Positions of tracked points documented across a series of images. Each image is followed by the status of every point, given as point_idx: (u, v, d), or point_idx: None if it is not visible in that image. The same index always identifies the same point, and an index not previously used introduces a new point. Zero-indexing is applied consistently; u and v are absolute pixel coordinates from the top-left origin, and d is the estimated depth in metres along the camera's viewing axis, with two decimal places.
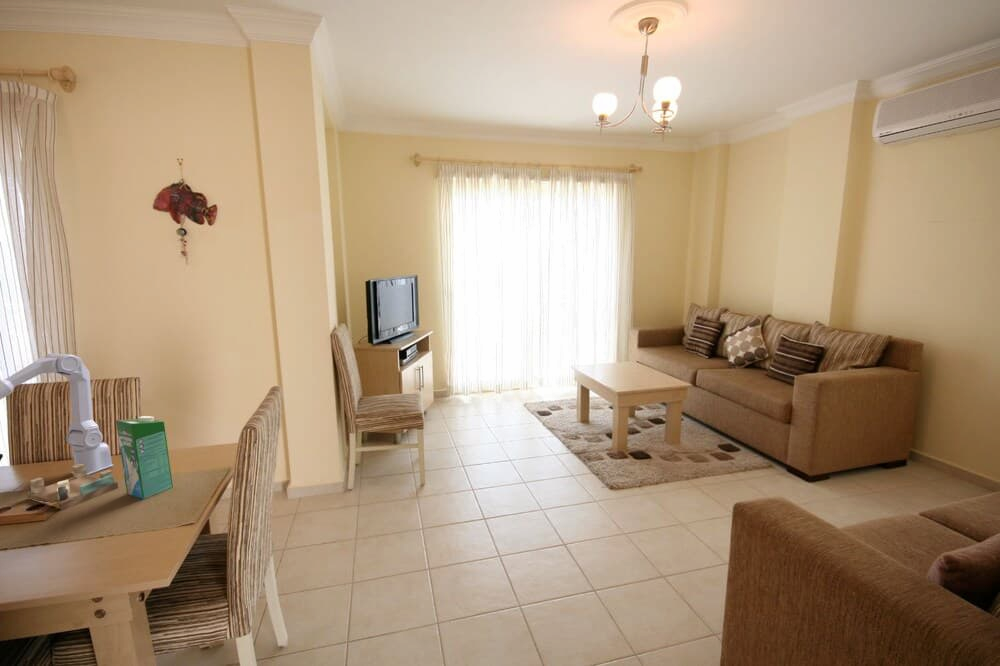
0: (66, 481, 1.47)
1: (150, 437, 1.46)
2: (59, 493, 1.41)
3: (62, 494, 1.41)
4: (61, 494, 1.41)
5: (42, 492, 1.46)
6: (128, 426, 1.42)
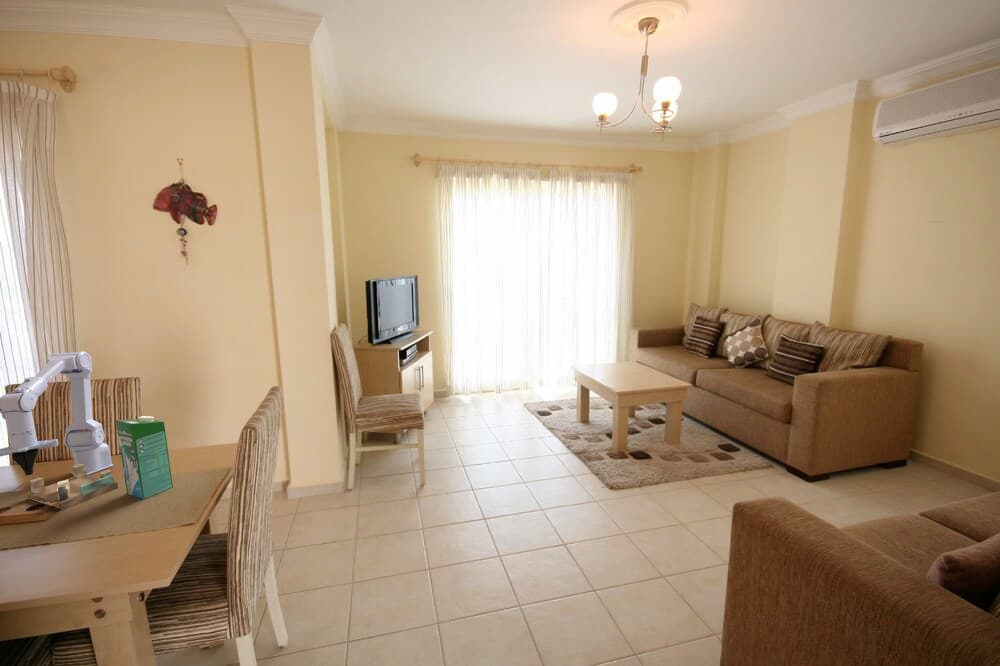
0: (66, 481, 1.47)
1: (150, 437, 1.46)
2: (59, 493, 1.41)
3: (62, 494, 1.41)
4: (61, 494, 1.41)
5: (42, 492, 1.46)
6: (128, 426, 1.42)
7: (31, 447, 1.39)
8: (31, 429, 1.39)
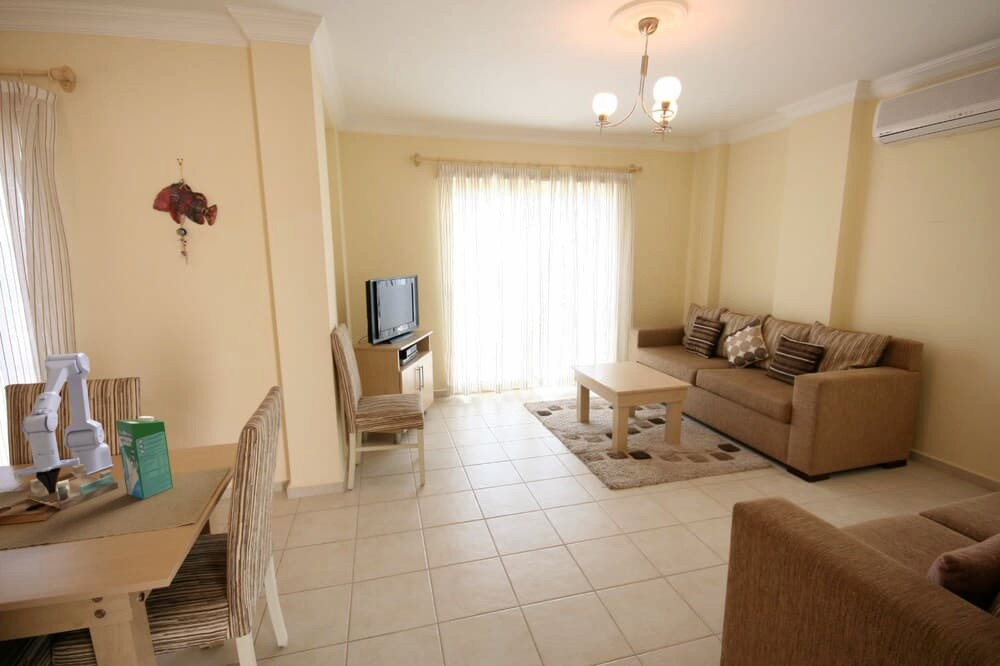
0: (66, 481, 1.47)
1: (150, 437, 1.46)
2: (59, 493, 1.41)
3: (62, 494, 1.41)
4: (61, 494, 1.41)
5: (42, 492, 1.46)
6: (128, 426, 1.42)
7: (54, 466, 1.43)
8: (55, 448, 1.43)
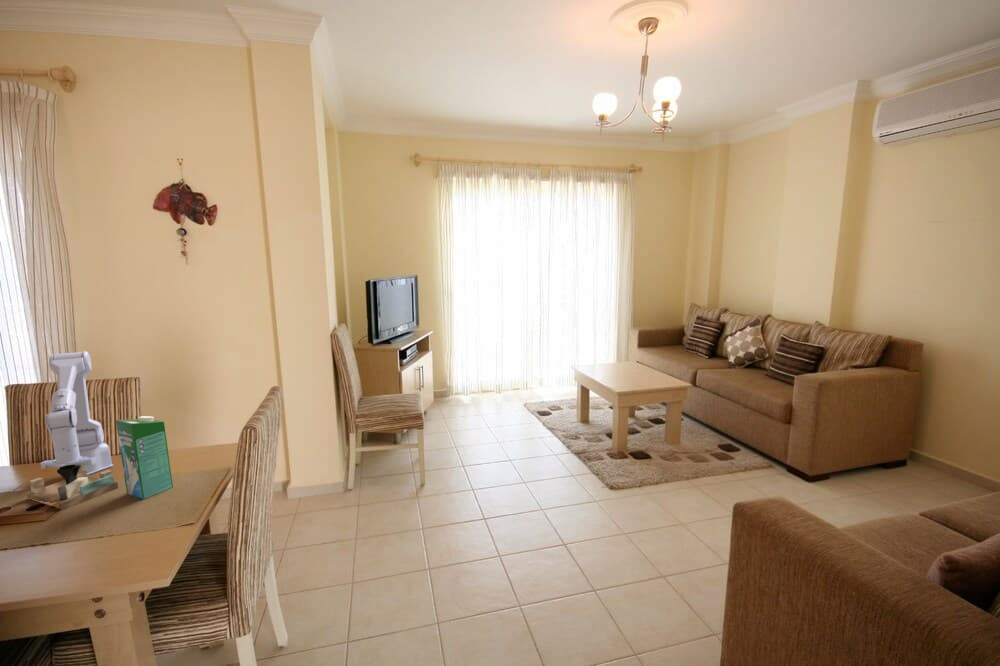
0: (82, 479, 1.49)
1: (150, 437, 1.46)
2: (58, 493, 1.41)
3: (60, 494, 1.41)
4: (59, 494, 1.41)
5: (42, 492, 1.46)
6: (128, 426, 1.42)
7: (68, 463, 1.44)
8: (77, 443, 1.47)
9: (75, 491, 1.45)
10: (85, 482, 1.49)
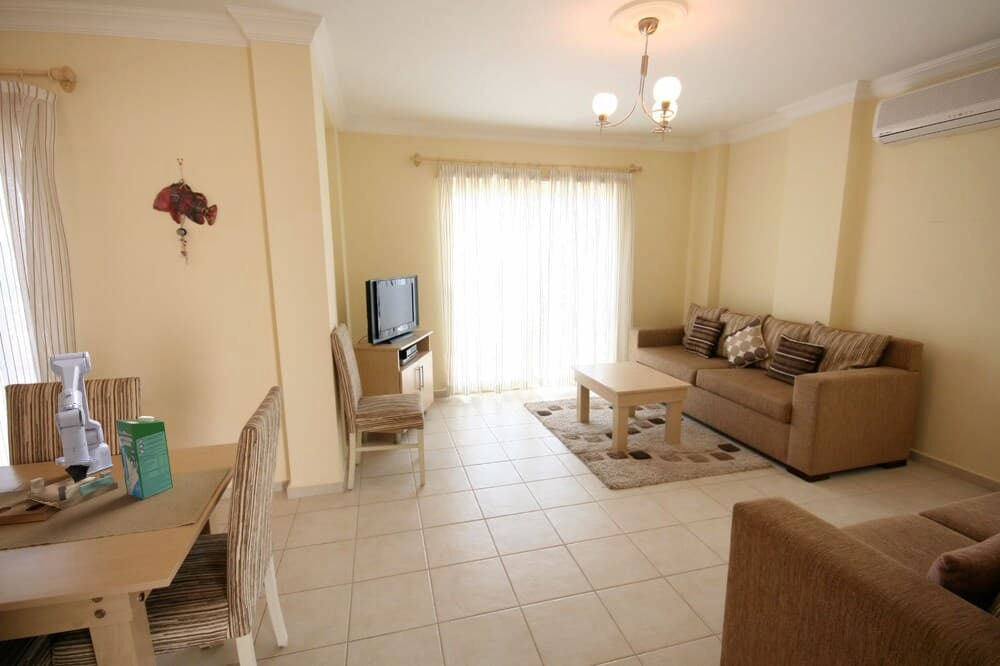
0: (89, 479, 1.49)
1: (150, 437, 1.46)
2: None
3: (59, 494, 1.41)
4: (59, 494, 1.41)
5: (42, 492, 1.46)
6: (128, 426, 1.42)
7: (73, 463, 1.44)
8: (86, 442, 1.48)
9: (77, 492, 1.45)
10: None
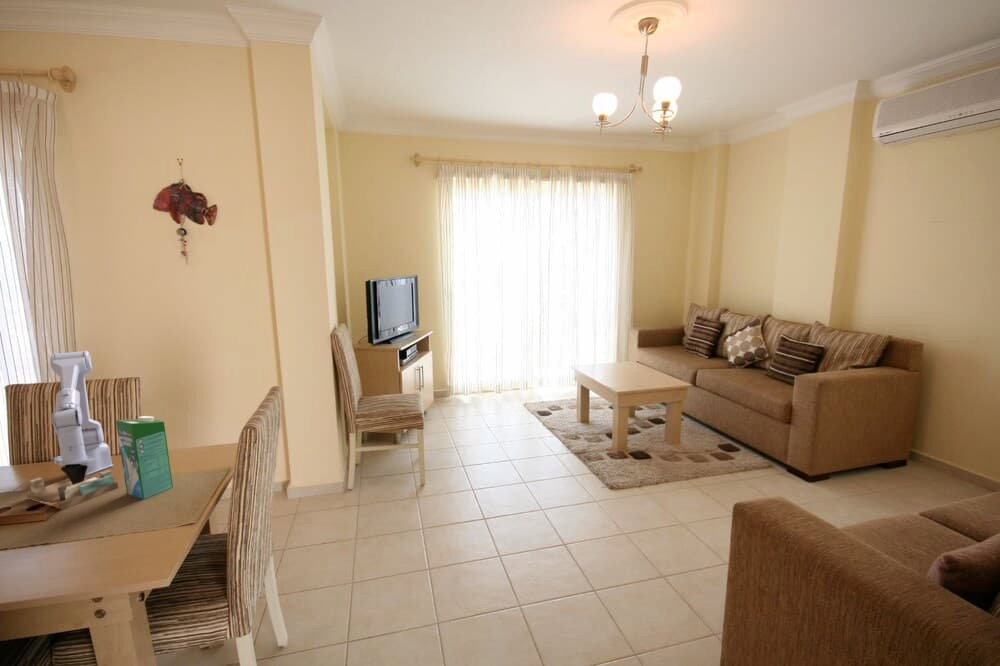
0: (92, 480, 1.48)
1: (150, 437, 1.46)
2: None
3: (59, 494, 1.41)
4: None
5: (42, 492, 1.46)
6: (128, 426, 1.42)
7: (69, 463, 1.45)
8: (83, 441, 1.49)
9: (78, 492, 1.44)
10: None
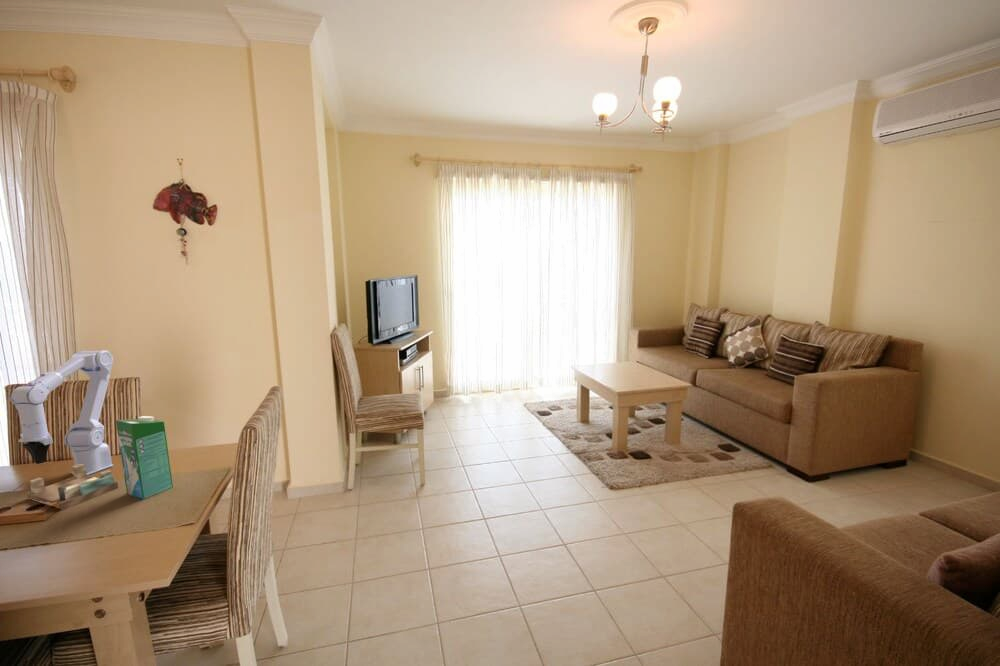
0: (92, 480, 1.48)
1: (150, 437, 1.46)
2: None
3: (59, 494, 1.41)
4: None
5: (42, 492, 1.46)
6: (128, 426, 1.42)
7: (28, 440, 1.45)
8: (40, 421, 1.47)
9: (78, 492, 1.44)
10: None
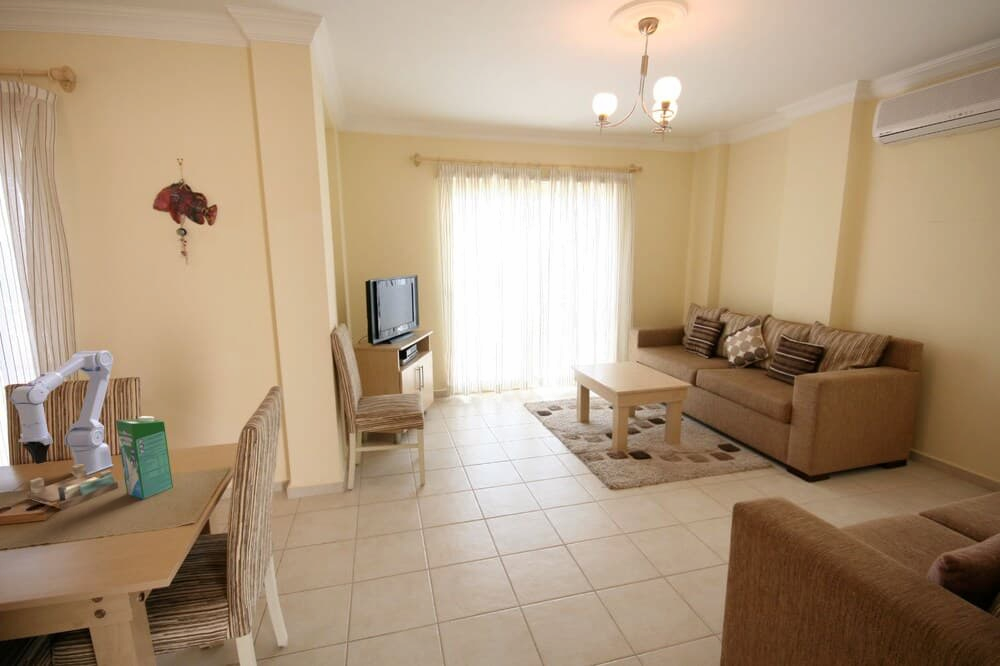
0: (92, 480, 1.48)
1: (150, 437, 1.46)
2: None
3: (59, 494, 1.41)
4: None
5: (42, 492, 1.46)
6: (128, 426, 1.42)
7: (28, 440, 1.45)
8: (40, 421, 1.47)
9: (78, 492, 1.44)
10: None
